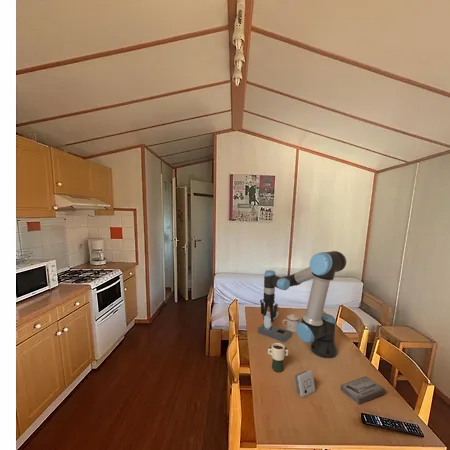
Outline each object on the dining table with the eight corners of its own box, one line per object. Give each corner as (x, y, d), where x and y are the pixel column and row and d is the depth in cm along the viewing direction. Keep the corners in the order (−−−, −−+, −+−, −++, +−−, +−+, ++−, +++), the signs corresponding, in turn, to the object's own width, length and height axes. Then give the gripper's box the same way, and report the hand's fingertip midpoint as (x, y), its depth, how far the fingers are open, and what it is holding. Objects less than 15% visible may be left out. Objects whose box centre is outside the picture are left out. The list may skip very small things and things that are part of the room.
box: (385, 395, 122) (385, 388, 121) (358, 405, 115) (358, 399, 115) (365, 381, 131) (365, 375, 131) (339, 390, 125) (340, 384, 125)
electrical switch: (302, 398, 118) (301, 378, 119) (293, 392, 123) (293, 373, 123) (315, 391, 123) (315, 372, 123) (307, 386, 128) (306, 367, 128)
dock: (286, 349, 159) (286, 347, 159) (280, 355, 153) (280, 352, 153) (274, 345, 164) (274, 343, 164) (268, 350, 158) (268, 348, 158)
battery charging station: (290, 336, 176) (291, 330, 175) (284, 342, 168) (284, 335, 168) (265, 327, 188) (265, 321, 188) (258, 332, 181) (258, 326, 180)
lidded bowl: (276, 315, 211) (277, 302, 210) (280, 321, 199) (281, 308, 198) (261, 315, 210) (261, 302, 210) (264, 322, 198) (265, 308, 197)
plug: (271, 329, 181) (271, 315, 181) (268, 331, 179) (269, 317, 178) (267, 328, 184) (267, 314, 183) (264, 329, 181) (264, 315, 180)
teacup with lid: (297, 326, 191) (297, 311, 190) (300, 332, 182) (301, 316, 181) (280, 326, 191) (281, 311, 190) (283, 332, 182) (284, 316, 181)
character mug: (286, 365, 143) (287, 343, 142) (288, 374, 136) (289, 350, 135) (266, 364, 144) (267, 342, 143) (267, 372, 137) (268, 349, 136)
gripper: (282, 294, 177) (281, 327, 179) (261, 288, 187) (260, 320, 189) (277, 296, 171) (276, 331, 173) (256, 291, 182) (255, 323, 183)
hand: (268, 325), depth 181 cm, fingers closed on plug, 3 cm apart
